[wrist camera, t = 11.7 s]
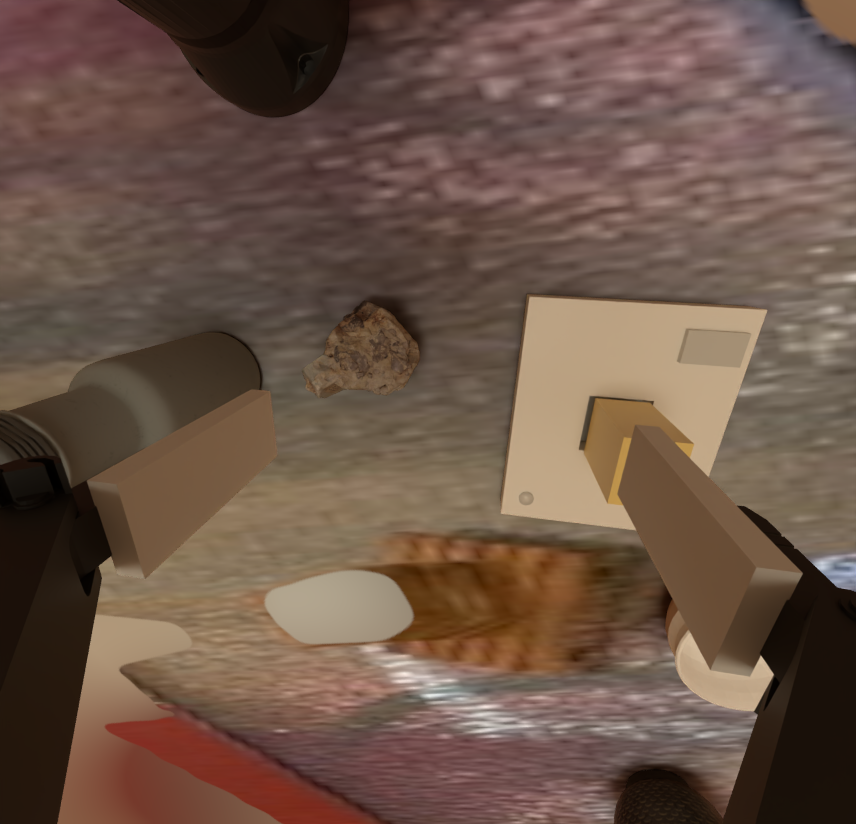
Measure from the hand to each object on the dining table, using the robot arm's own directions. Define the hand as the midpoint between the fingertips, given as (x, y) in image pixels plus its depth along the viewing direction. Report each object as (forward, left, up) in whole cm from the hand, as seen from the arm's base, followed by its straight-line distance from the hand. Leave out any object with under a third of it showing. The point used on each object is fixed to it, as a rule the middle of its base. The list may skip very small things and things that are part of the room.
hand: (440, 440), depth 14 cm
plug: (+9, +15, -28) cm, 33 cm away
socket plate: (+9, +15, -29) cm, 34 cm away
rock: (+4, -10, -29) cm, 31 cm away
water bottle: (+8, -29, -29) cm, 42 cm away
